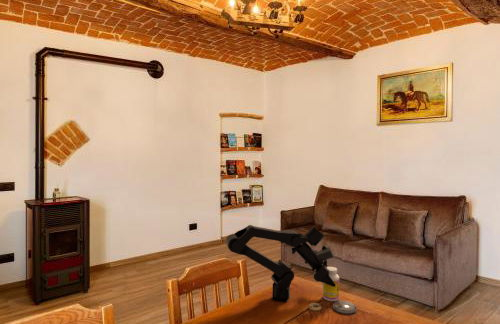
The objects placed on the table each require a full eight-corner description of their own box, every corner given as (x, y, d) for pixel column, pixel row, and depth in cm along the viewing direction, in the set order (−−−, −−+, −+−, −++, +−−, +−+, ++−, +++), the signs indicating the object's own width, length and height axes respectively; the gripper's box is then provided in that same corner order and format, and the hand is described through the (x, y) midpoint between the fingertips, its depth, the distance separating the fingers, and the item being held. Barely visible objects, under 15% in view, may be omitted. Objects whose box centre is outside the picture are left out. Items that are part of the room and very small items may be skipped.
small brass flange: (307, 310, 137) (307, 307, 137) (309, 304, 142) (309, 302, 142) (320, 312, 136) (320, 309, 136) (322, 306, 141) (322, 303, 141)
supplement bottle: (339, 302, 144) (340, 272, 143) (322, 301, 145) (323, 270, 145) (338, 295, 151) (339, 266, 150) (322, 294, 152) (323, 265, 151)
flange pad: (331, 312, 136) (331, 308, 136) (333, 302, 145) (333, 298, 145) (356, 315, 133) (356, 312, 133) (356, 305, 142) (356, 302, 142)
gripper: (322, 248, 138) (351, 277, 137) (320, 235, 156) (345, 261, 155) (302, 266, 140) (330, 296, 139) (302, 252, 158) (327, 277, 157)
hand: (334, 281), depth 147 cm, fingers open, 9 cm apart
